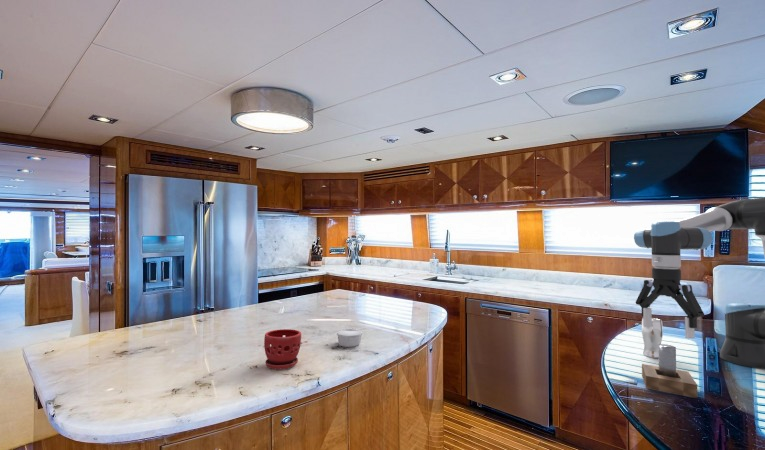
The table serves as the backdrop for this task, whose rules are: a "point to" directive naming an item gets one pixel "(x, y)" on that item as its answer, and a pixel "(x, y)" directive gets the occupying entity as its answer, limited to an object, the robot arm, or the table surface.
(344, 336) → the ramekin
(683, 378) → the socket block
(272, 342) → the plant pot
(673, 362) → the steel peg
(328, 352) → the table surface
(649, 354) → the beer glass
